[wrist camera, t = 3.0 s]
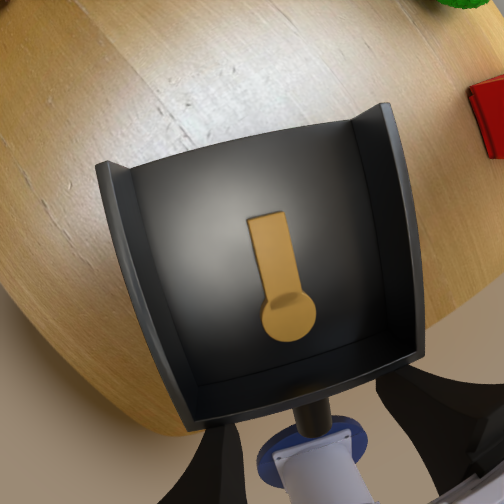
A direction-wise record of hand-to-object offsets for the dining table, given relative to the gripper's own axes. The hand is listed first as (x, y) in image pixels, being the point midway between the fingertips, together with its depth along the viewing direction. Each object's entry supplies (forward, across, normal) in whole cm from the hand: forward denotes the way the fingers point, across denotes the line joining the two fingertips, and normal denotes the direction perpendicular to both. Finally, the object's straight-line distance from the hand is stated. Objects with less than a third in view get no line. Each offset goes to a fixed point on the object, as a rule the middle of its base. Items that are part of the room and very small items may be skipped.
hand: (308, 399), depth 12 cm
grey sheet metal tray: (+2, 0, -5) cm, 5 cm away
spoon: (+1, 0, -6) cm, 6 cm away
